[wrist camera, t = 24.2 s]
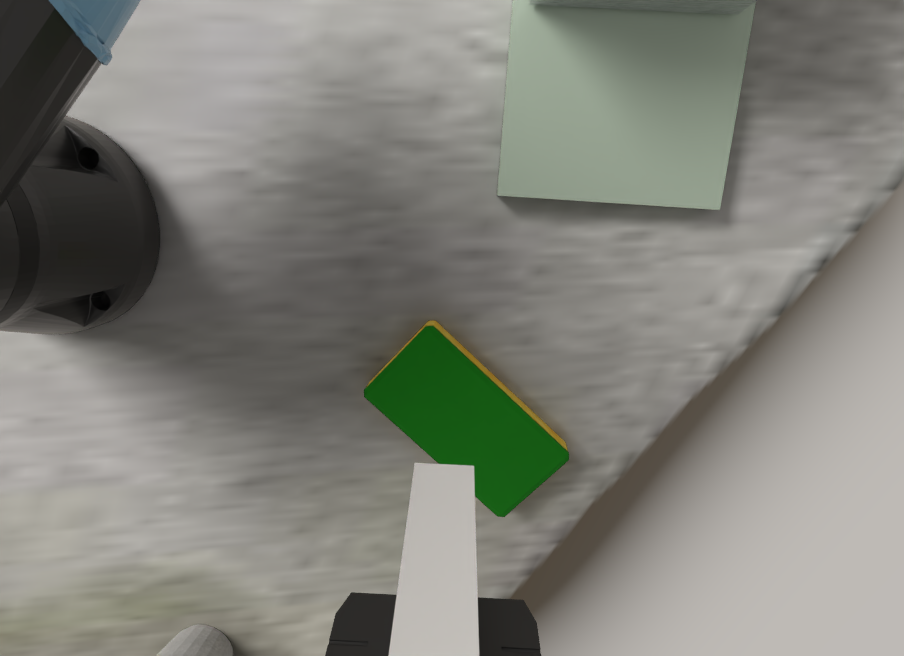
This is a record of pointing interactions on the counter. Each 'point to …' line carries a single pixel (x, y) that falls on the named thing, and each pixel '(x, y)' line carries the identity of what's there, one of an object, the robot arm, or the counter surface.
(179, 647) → the house plant
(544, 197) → the vise bed
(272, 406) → the counter surface
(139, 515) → the counter surface
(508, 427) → the dish sponge
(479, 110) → the counter surface
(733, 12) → the sliding jaw
